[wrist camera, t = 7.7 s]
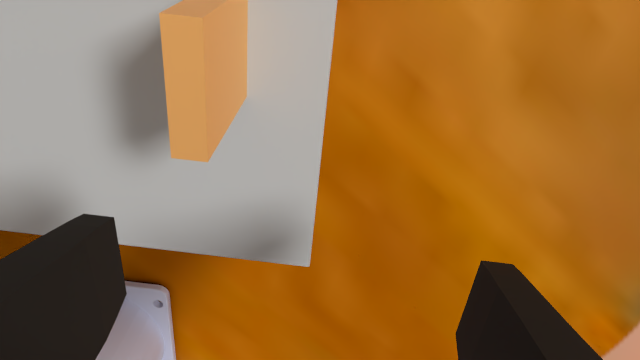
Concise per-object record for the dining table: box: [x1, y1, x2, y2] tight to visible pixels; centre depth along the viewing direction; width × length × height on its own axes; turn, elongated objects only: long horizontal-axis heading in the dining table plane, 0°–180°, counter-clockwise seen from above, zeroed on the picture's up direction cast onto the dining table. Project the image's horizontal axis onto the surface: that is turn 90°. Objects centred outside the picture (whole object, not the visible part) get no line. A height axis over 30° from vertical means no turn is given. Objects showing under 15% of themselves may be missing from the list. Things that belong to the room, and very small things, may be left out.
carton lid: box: [0, 0, 337, 267], centre depth 11 cm, size 15×14×4 cm
